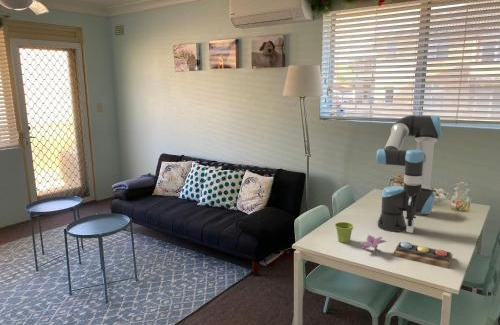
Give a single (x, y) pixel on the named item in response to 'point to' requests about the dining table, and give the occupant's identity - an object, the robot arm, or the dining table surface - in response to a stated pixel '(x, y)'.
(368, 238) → the lily
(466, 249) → the dining table surface
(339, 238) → the plant pot
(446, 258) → the button panel
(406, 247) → the button blue
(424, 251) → the button ochre
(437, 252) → the button red
